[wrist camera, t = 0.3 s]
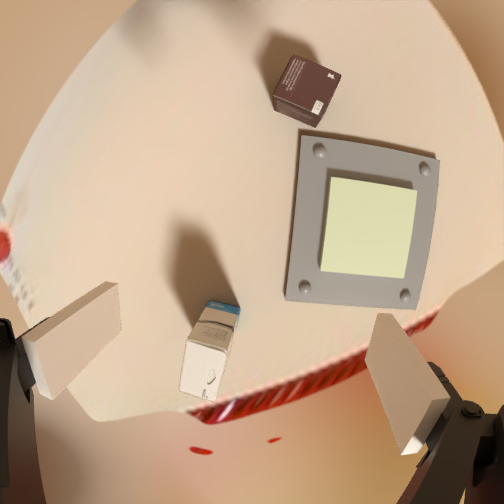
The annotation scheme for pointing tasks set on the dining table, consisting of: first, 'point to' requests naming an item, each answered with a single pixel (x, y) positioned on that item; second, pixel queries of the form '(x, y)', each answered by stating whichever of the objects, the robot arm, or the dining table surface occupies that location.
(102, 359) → the dining table surface
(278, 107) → the box
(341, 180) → the board
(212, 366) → the ink box
